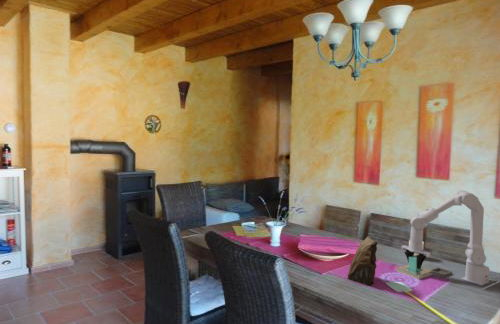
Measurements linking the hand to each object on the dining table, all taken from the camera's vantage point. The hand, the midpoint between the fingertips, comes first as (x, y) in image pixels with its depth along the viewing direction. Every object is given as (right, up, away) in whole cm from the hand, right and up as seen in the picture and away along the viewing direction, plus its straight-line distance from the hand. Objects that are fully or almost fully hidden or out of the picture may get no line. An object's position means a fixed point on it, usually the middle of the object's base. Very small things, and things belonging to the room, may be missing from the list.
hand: (414, 267), depth 183 cm
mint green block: (0, -2, 0) cm, 2 cm away
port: (0, -4, 0) cm, 4 cm away
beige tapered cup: (+12, -3, +25) cm, 28 cm away
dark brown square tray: (+14, -4, +1) cm, 14 cm away
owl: (-30, -4, -9) cm, 32 cm away
